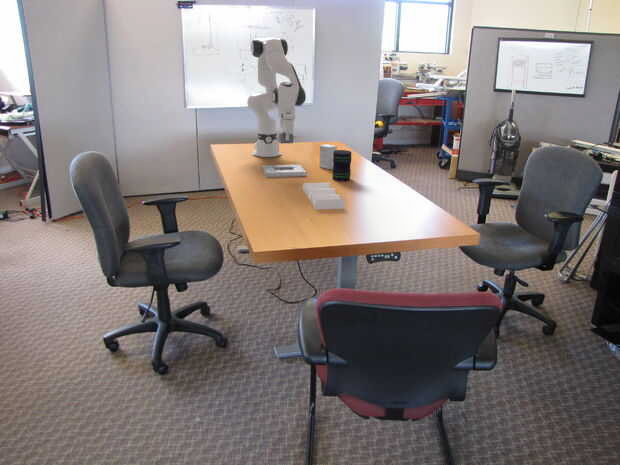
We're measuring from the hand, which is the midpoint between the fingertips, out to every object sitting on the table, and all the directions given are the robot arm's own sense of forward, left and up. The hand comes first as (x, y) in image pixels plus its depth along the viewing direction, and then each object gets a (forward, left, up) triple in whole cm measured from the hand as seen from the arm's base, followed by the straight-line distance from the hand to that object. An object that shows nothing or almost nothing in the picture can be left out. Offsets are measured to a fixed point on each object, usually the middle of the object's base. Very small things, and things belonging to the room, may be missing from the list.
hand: (286, 139), depth 282 cm
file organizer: (+50, +9, -20) cm, 55 cm away
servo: (0, 0, -2) cm, 2 cm away
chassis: (0, -1, -19) cm, 19 cm away
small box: (-10, +27, -19) cm, 34 cm away
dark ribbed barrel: (+17, +28, -19) cm, 38 cm away
